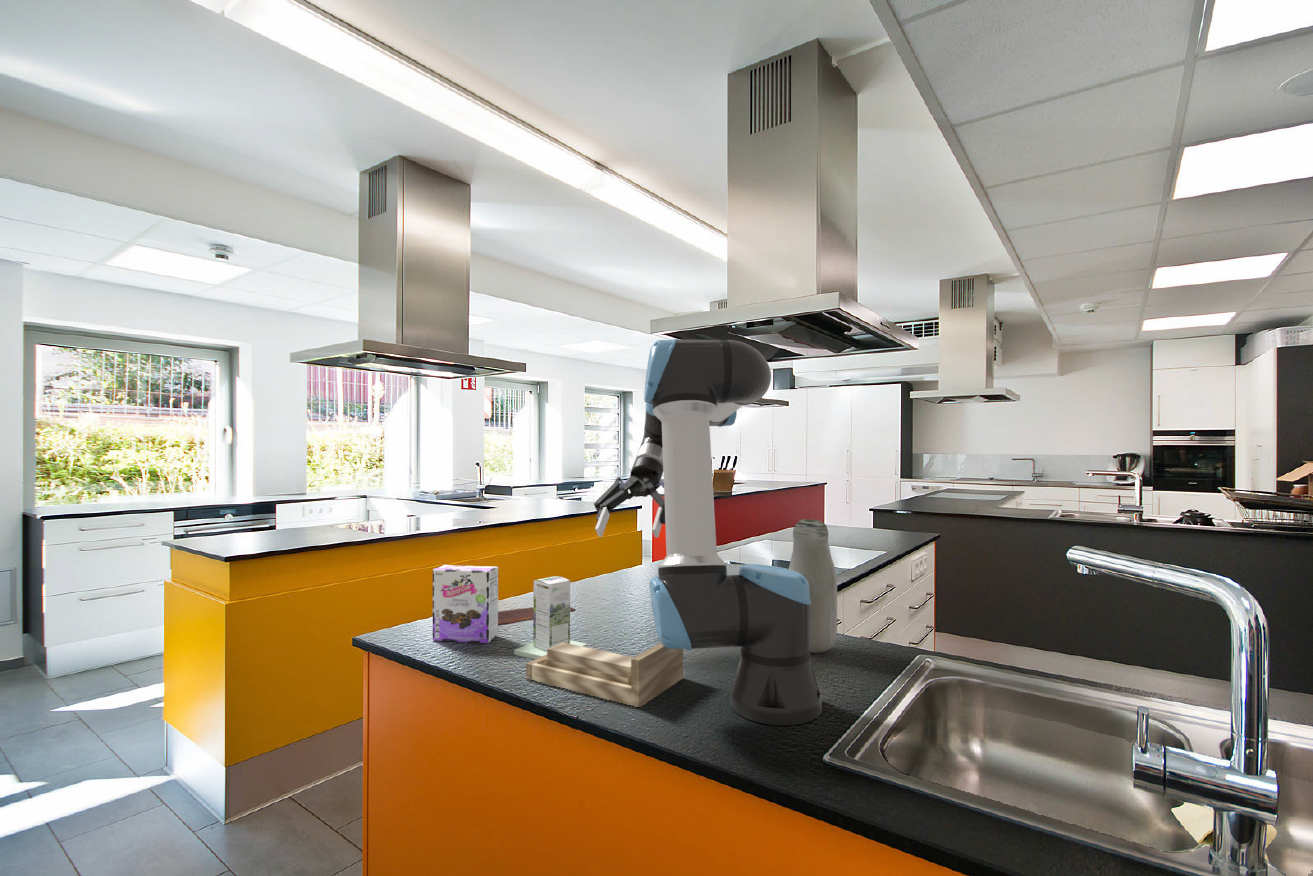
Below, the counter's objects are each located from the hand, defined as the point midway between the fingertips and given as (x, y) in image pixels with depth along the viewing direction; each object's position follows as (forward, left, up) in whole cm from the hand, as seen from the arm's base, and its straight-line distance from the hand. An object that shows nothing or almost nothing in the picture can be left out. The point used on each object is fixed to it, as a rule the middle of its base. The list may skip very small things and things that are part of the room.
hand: (626, 533), depth 137 cm
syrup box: (+4, +16, -24) cm, 29 cm away
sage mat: (+4, +16, -25) cm, 30 cm away
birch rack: (-16, +12, -25) cm, 32 cm away
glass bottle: (-23, -33, -25) cm, 47 cm away
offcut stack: (-17, +15, -25) cm, 34 cm away
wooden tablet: (+35, +13, -25) cm, 45 cm away
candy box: (+23, +30, -25) cm, 45 cm away
